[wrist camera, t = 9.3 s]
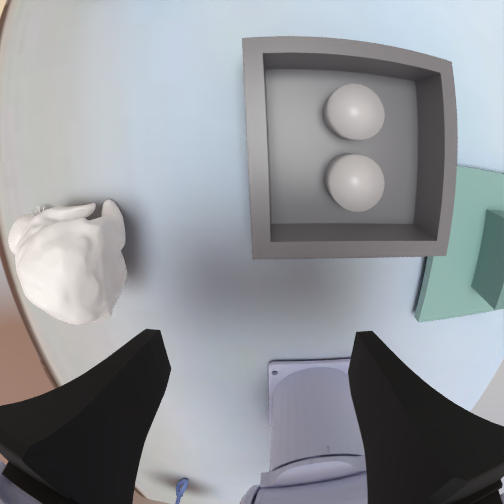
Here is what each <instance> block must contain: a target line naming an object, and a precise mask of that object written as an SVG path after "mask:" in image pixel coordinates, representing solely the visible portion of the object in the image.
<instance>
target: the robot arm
mask: <svg viewBox="0 0 504 504" xmlns="http://www.w3.org/2000/svg"><path fill="white" fill-rule="evenodd" d="M273 371H276V372H273ZM170 372H171V366H170V363H169V360H168V356H167V353H166V349H165V346H164V342H163V339H162V335H161V331H160V330H152V329H145V330H144V331H142V332H141V333H139V334H138V335H137V336H135V337H134V338H133V339H131V340H130V341H129V342H128V343H126V344H125V345H124V346H122V347H121V348H120V349H118V350H117V351H116V352H114V353H113V354H112V355H110V356H109V357H108V358H106V359H105V360H103V361H102V362H101V363H99V364H98V365H96V366H95V367H93V368H92V369H90V370H89V371H87V372H86V373H84V374H83V375H81V376H79V377H78V378H76V379H74V380H72V381H70V382H68V383H67V384H65V385H63V386H61V387H58V388H56V389H54V390H51V391H49V392H47V393H45V394H42V395H40V396H37V397H34V398H31V399H28V400H24V401H21V402H17V403H12V404H7V405H2V406H0V453H1V454H2V455H3V456H4V457H5V458H6V459H7V460H8V461H9V462H8V463H7V465H5V464H4V463H3V462H2V461H0V504H132V502H133V493H134V487H135V481H136V476H137V471H138V466H139V462H140V458H141V454H142V450H143V446H144V443H145V440H146V437H147V434H148V432H149V429H150V427H151V424H152V422H153V419H154V417H155V415H156V412H157V410H158V408H159V405H160V403H161V400H162V398H163V396H164V393H165V391H166V387H167V383H168V380H169V376H170ZM268 373H269V425H270V426H271V427H272V436H271V455H270V472H266V473H261V483H260V485H255V486H252V487H251V488H250V489H249V490H248V491H247V493H246V494H245V495H244V496H243V498H242V499H241V501H240V504H504V493H503V494H501V495H500V494H499V491H498V490H499V489H500V488H502V482H501V478H502V477H503V476H504V427H503V426H501V425H498V424H495V423H492V422H490V421H488V420H485V419H483V418H481V417H479V416H477V415H474V414H473V413H471V412H469V411H467V410H465V409H464V408H462V407H460V406H458V405H457V404H455V403H453V402H452V401H450V400H449V399H447V398H446V397H444V396H443V395H442V394H440V393H439V392H437V391H436V390H435V389H433V388H432V387H431V386H429V385H428V384H427V383H426V382H424V381H423V380H422V379H421V378H420V377H419V376H417V375H416V374H415V373H414V372H413V371H412V370H411V369H410V368H409V367H407V366H406V365H405V364H404V363H403V362H402V361H401V360H400V359H399V358H398V357H397V356H396V355H395V354H394V353H393V352H392V351H391V350H390V349H389V348H388V347H387V346H386V345H385V344H384V343H383V342H382V340H381V339H380V338H379V337H378V336H377V335H376V334H375V333H374V332H373V331H363V332H356V336H355V341H354V346H353V351H352V355H351V359H339V360H321V361H284V362H271V363H270V364H269V367H268Z"/></svg>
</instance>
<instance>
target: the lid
mask: <svg viewBox="0 0 504 504" xmlns="http://www.w3.org/2000/svg"><path fill="white" fill-rule="evenodd" d="M499 309H504V174H502V173H497V172H492V171H487V170H481V169H476V168H470V167H463V166H457V174H456V189H455V200H454V209H453V217H452V224H451V231H450V237H449V243H448V249H447V254H446V256H428V257H427V263H426V268H425V273H424V278H423V283H422V287H421V292H420V296H419V300H418V305H417V308H416V312H415V316H414V317H415V318H416V320H417V321H418V322H425V321H433V320H440V319H447V318H454V317H460V316H466V315H472V314H478V313H483V312H489V311H494V310H499Z"/></svg>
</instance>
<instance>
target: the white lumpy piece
mask: <svg viewBox="0 0 504 504" xmlns="http://www.w3.org/2000/svg"><path fill="white" fill-rule="evenodd" d="M95 207H96V205H95V203H91V204H87V205H80V206H73V207H63V206H58V207H53V208H50V209H46V210H45V211H44V208H43V212H42V213H41V210H40V208H39V210H38V208H37V205H36V209H37V212H38V214H37V212H36V210H35V213H36V215H32V214H28V215H24V216H22V217H20V218H18V219H17V220H16V221H15V222H14V224H13V226H12V228H11V230H10V233H9V237H8V243H9V247H10V250H11V251H12V252H13V253H14V254H15V255H16V256H15V261H16V270H17V274H18V277H19V279H20V281H21V285H22V288H23V291H24V294H25V296H26V297H27V298H28V299H29V300H30V301H31V302H32V303H33V304H35V305H36V306H37V307H39V308H40V309H42V310H43V311H45V312H47V313H48V314H50V315H51V316H53V317H55V318H57V319H59V320H61V321H64V322H67V323H71V324H75V325H83V324H87V323H90V322H93V321H102V320H105V319H107V318H108V317H110V316H111V315H112V310H113V307H114V305H115V303H116V301H117V300H118V298H119V296H120V294H121V292H122V289H123V286H124V284H125V282H126V277H127V270H126V264H125V260H124V257H123V255H122V252H121V250H122V248H123V247H124V245H125V226H124V219H123V216H122V214H121V212H120V210H119V208H118V206H117V205H116V204H115V202H113V201H112V200H109V199H108V200H106V201H105V202H104V204H103V207H102V216H101V217H99V218H96V219H93V220H87V219H86V217H88V216H90V215H91V214H92V213H93V212H94V210H95Z"/></svg>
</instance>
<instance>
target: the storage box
mask: <svg viewBox="0 0 504 504" xmlns="http://www.w3.org/2000/svg"><path fill="white" fill-rule="evenodd" d="M242 47H243V67H244V88H245V108H246V129H247V150H248V170H249V191H250V212H251V232H252V253H253V259H310V258H373V257H422V256H446V254H447V249H448V243H449V237H450V231H451V224H452V217H453V209H454V200H455V189H456V174H457V109H456V96H455V85H454V76H453V69H452V62H450V61H447V60H444V59H441V58H437V57H434V56H430V55H427V54H423V53H419V52H415V51H411V50H407V49H402V48H397V47H392V46H387V45H382V44H376V43H369V42H362V41H355V40H346V39H336V38H322V37H298V36H277V37H252V38H242Z"/></svg>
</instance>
